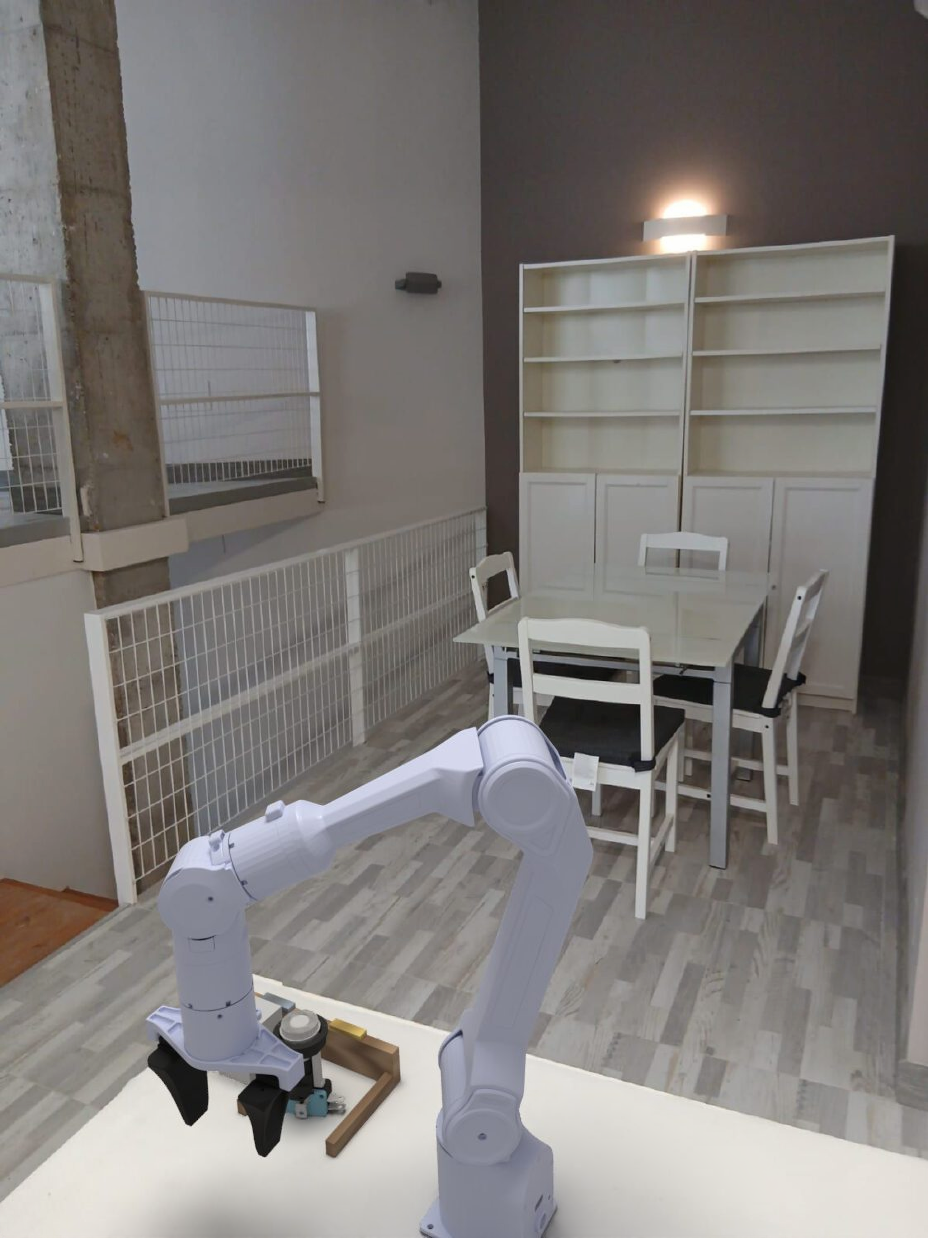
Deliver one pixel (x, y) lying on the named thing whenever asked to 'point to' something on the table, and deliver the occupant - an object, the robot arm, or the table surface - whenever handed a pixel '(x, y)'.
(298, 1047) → the push button
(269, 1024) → the grey plug block
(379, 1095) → the wooden bench frame
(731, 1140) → the table surface
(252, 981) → the robot arm
